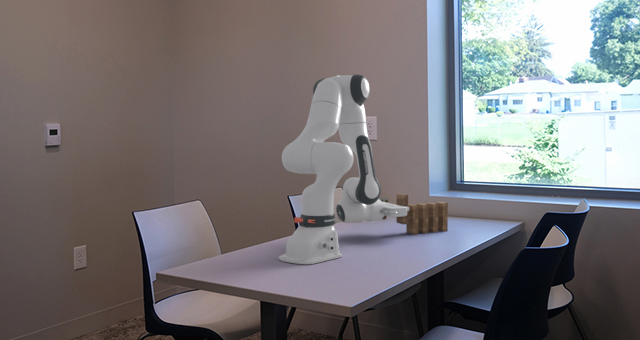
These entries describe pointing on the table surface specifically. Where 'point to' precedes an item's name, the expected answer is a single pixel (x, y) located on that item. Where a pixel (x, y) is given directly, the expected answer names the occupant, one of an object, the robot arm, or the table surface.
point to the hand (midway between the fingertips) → (404, 207)
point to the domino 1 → (402, 201)
